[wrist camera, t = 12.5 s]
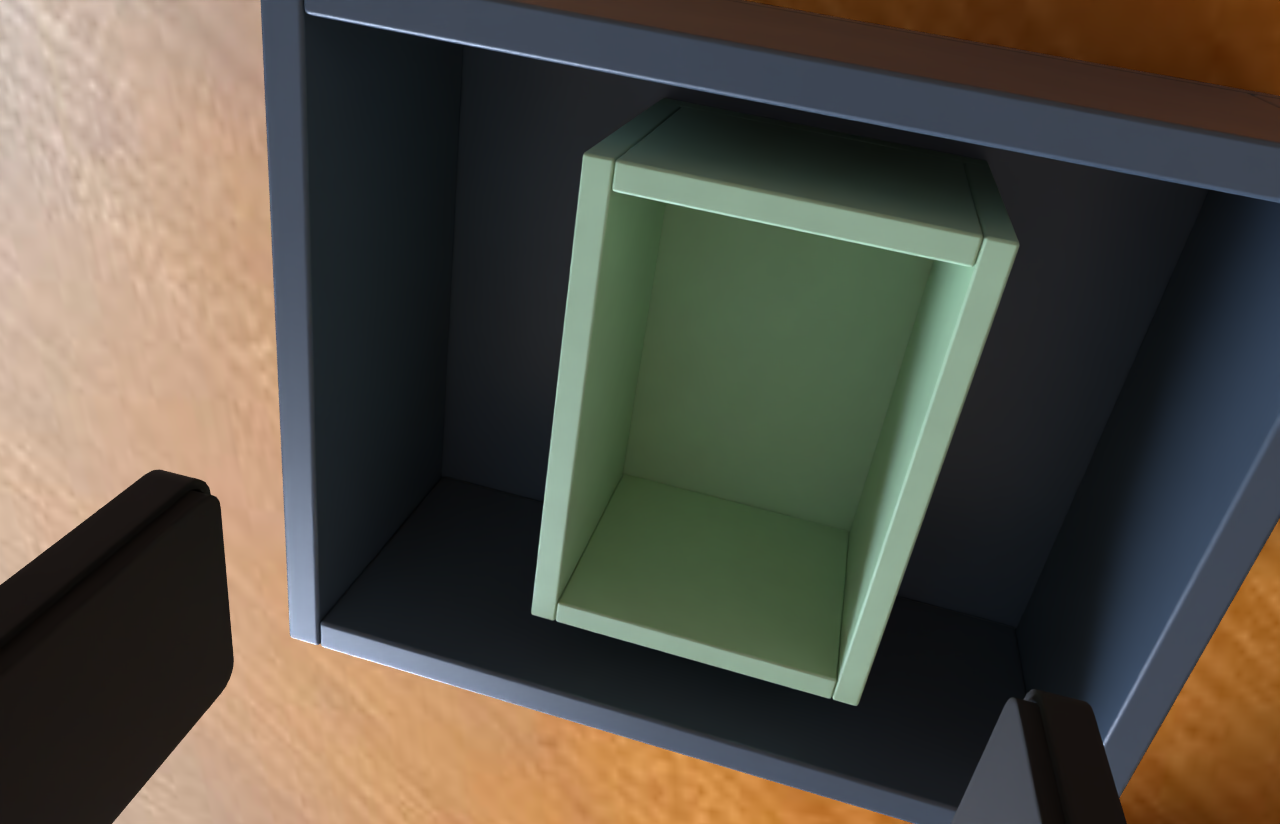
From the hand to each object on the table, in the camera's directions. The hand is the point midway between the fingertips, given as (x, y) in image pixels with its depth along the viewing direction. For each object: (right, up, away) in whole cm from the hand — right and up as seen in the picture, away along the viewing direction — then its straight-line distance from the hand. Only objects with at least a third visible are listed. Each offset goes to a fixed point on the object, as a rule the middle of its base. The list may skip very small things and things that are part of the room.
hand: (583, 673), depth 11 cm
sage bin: (+4, +5, +10) cm, 11 cm away
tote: (+4, +5, +10) cm, 12 cm away
